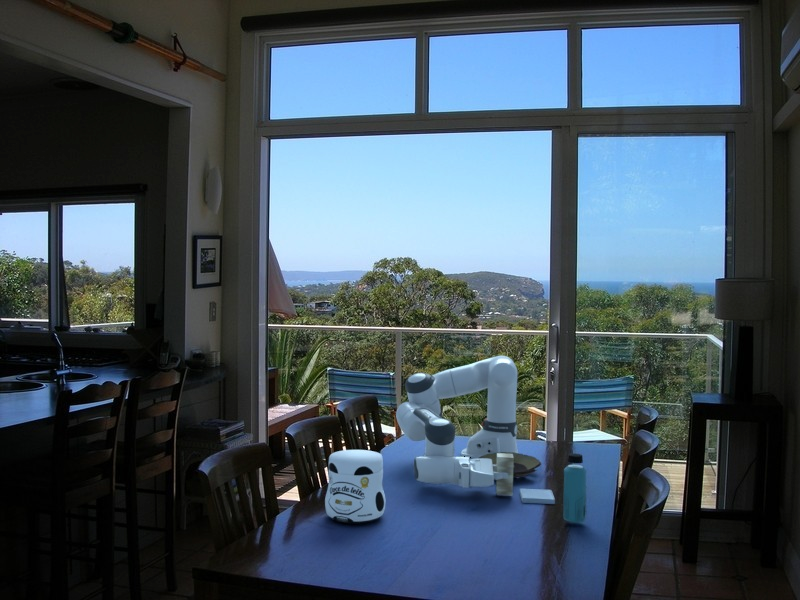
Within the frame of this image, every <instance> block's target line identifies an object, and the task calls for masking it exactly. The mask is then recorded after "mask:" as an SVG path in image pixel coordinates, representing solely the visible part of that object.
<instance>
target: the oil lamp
mask: <svg viewBox="0 0 800 600" xmlns="http://www.w3.org/2000/svg"><path fill="white" fill-rule="evenodd" d="M500 453H505V454H513V458H514V459H513V479H515V478H522V477H525V476H528V475H530V474H533V473H535V472H537V471H538V469H537V468H538V467H540V466H541V465H542V463H541V461H540V460H539V459H538V458H537V457H535V456H532V455H527V454H524V453H520V452H518V453H514V452H500ZM479 458H488V459H491V460H492V464H493V465H497V453H492V454H486V455H483V456H481V457H479Z"/></svg>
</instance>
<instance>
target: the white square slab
mask: <svg viewBox="0 0 800 600" xmlns="http://www.w3.org/2000/svg"><path fill="white" fill-rule="evenodd" d="M519 496H520V500H521V503H522V504H540V505H541V504H544V505H545V504H547V505H555V504H556V499H555V496H554V494H553V491H552V489H540V488H539V489H537V488H536V489H535V488H519Z"/></svg>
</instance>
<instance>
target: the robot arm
mask: <svg viewBox="0 0 800 600" xmlns="http://www.w3.org/2000/svg"><path fill="white" fill-rule="evenodd" d="M404 387H405V391H406V394H407V399H408V401H404V402H402V403H401V404H399V406H398V407H397V409H396V412H395V416H396V421H397V423H398V426H399V428H400V430H401V431H402V433H403V434H404V436H405V437H406V438H407V439H409V440H411V441H413V442H422V441H425V442H424V443H425V444H424V445H425V446H424V447H425V449H424V451H425V452H424V454H423V455H422V456H421V455H420V456H415V457H414V459H413V476H414V478H415V479H416V481H418V482H421V483H426V484H435V485H436V484H437V485H442V484H450V485H458V486H460V487H462V488H463V489H469V488H470V487H473V488H474V487H476V488H479V487H480V488H483V487H488V488H489V487H493V486H494V484H495V481H496V480H498V479H502V478H504V479H507V478H508V472H496V471H497V465H493V464H492V460H491V459H488V458H479V457H481V456H483V455H486V454H492V453H500V452H514V453H519V450H518V445H517V433H518V424H517V423H518V422H517V420H516V419H517V389H518V369H517V366H516V363H515V362H514V360H513V359H512V358H510V357H508V356H506V355H497V356H493V357H489V358H487V359H486V358H485V359H482V360H479V361H476V362H473V363H470V364H466V365H462V366H457V367H454V368H449V369H445V370H442V371H439V372H437V373H434V374H432V375H431V374H429V373H425V372H416V373H413V374H411V375H409V376H408V378H406V380H405V385H404ZM485 389H487V408H486V409H487V413H486V414H487V415H486V418H484V419H483V420H482V422H481V429H480V430H479V431H477V432H475V433H474V434H473V435H471V437H470V438H469V439H468V441H467V445H466V447H465V448H463V449H462V450H461V452H460V455H461V456H457V455H456V456H455V438H456V437H455V436H456V426H455V425H454V424H453V422H452V421H451V420H448V419H446V418H443V414H442V413H443V412H442V409H441V403H440V400H443V399H450V398H451V399H452V398H457V397H460V396H461V397H462V396H465V395H469V394H473V393H477V392H480V391H483V390H485ZM464 456H465V457H464ZM470 457H471V458H470Z"/></svg>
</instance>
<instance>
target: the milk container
mask: <svg viewBox="0 0 800 600" xmlns="http://www.w3.org/2000/svg"><path fill="white" fill-rule="evenodd" d="M383 460H384V458H383V455H382V453H379V452H377V451H372V450H368V449H367V450H366V449H344V450H339V451H335V452H332V453H331V454H330V455H329V457H328V486H327V489H326V490H327V491H326V494H325V499H324V507H325V512H326V514H327V516H328V517H329V518H330V519H332V520H333V521H335V522H339V523H344V524H350V525H352V524H354V525H355V524H356V525H357V524H359V525H360V524H366V523H367V524H368V523H371V522H375V521H376V520H379V519H380V518H382V516H383V515H384V512H385V510H386V501H387V500H386V495H385V492H384V484H383V482H384V480H383V478H384V468H383V467H384V463H383V462H384V461H383Z"/></svg>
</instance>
